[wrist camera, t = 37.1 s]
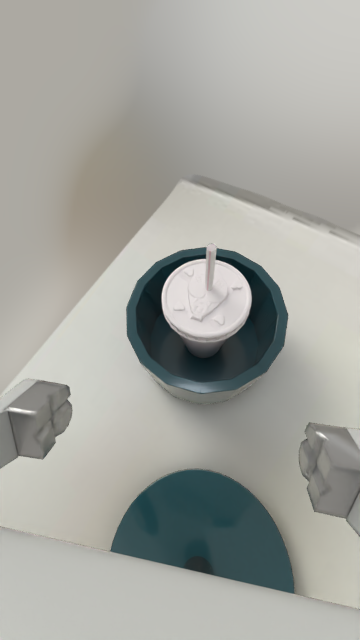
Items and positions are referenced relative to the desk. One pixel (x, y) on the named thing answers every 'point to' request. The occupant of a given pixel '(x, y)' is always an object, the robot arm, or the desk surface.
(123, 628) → the robot arm
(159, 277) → the pot
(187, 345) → the smoothie
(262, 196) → the desk surface
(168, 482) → the lid
